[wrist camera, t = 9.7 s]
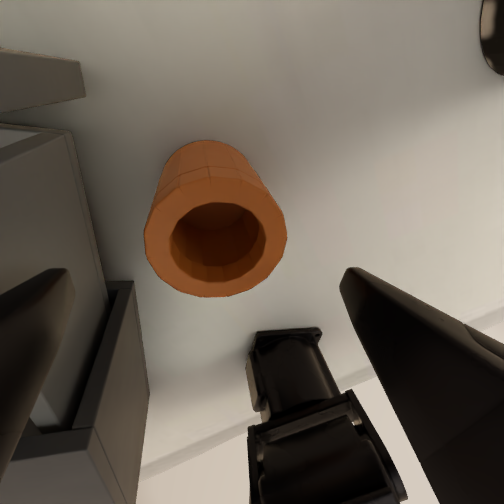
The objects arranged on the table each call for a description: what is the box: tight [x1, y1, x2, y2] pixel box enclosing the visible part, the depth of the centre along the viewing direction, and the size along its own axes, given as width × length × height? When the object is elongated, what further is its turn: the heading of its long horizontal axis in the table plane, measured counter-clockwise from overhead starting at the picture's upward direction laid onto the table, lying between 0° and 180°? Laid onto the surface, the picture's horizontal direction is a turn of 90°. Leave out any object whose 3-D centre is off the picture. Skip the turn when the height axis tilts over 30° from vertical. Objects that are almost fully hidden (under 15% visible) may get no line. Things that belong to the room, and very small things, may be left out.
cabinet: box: [0, 281, 150, 504], centre depth 16 cm, size 15×13×10 cm
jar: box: [144, 140, 287, 297], centre depth 12 cm, size 5×5×6 cm
